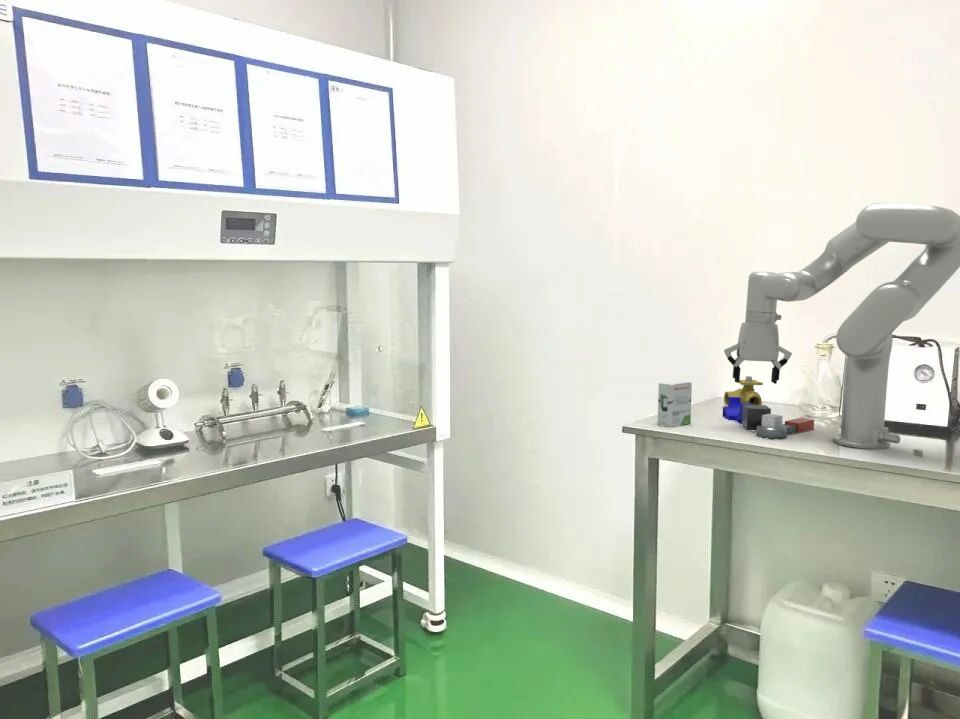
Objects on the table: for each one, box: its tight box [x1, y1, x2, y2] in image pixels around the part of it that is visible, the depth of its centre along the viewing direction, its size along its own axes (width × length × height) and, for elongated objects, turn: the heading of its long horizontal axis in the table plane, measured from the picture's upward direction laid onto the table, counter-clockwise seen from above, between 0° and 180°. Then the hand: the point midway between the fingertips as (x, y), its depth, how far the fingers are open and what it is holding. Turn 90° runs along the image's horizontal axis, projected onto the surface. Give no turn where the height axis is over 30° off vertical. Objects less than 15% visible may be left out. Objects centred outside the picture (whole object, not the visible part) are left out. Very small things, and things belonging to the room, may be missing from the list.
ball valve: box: [723, 375, 764, 407], centre depth 239 cm, size 13×10×10 cm
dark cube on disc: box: [741, 404, 772, 432], centre depth 207 cm, size 6×6×6 cm
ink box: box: [657, 380, 693, 428], centre depth 212 cm, size 9×5×12 cm, turn 124°
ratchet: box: [756, 413, 815, 440], centre depth 202 cm, size 21×7×6 cm, turn 128°
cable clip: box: [722, 397, 753, 425], centre depth 218 cm, size 12×4×6 cm, turn 0°
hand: (755, 381), depth 206 cm, fingers open, 9 cm apart
